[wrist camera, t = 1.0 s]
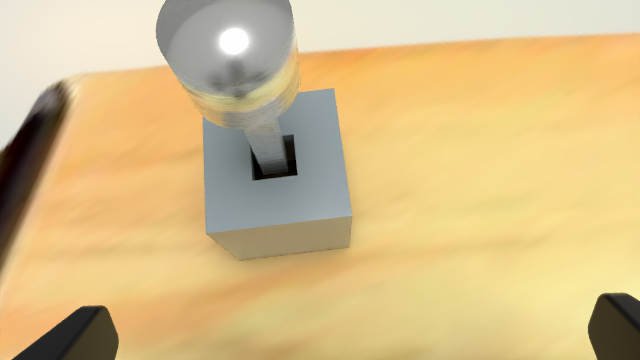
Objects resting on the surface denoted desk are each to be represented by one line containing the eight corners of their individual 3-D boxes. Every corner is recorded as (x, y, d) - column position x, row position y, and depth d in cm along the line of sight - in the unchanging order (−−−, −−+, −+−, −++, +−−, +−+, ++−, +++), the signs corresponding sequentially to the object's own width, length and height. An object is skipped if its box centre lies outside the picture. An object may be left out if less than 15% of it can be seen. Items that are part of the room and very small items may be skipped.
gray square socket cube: (349, 247, 23) (352, 215, 17) (239, 260, 23) (206, 233, 17) (335, 146, 25) (333, 88, 19) (233, 158, 25) (202, 104, 19)
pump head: (317, 194, 18) (299, 72, 10) (238, 203, 18) (155, 89, 10) (304, 79, 20) (279, -102, 12) (232, 88, 20) (157, -87, 12)
